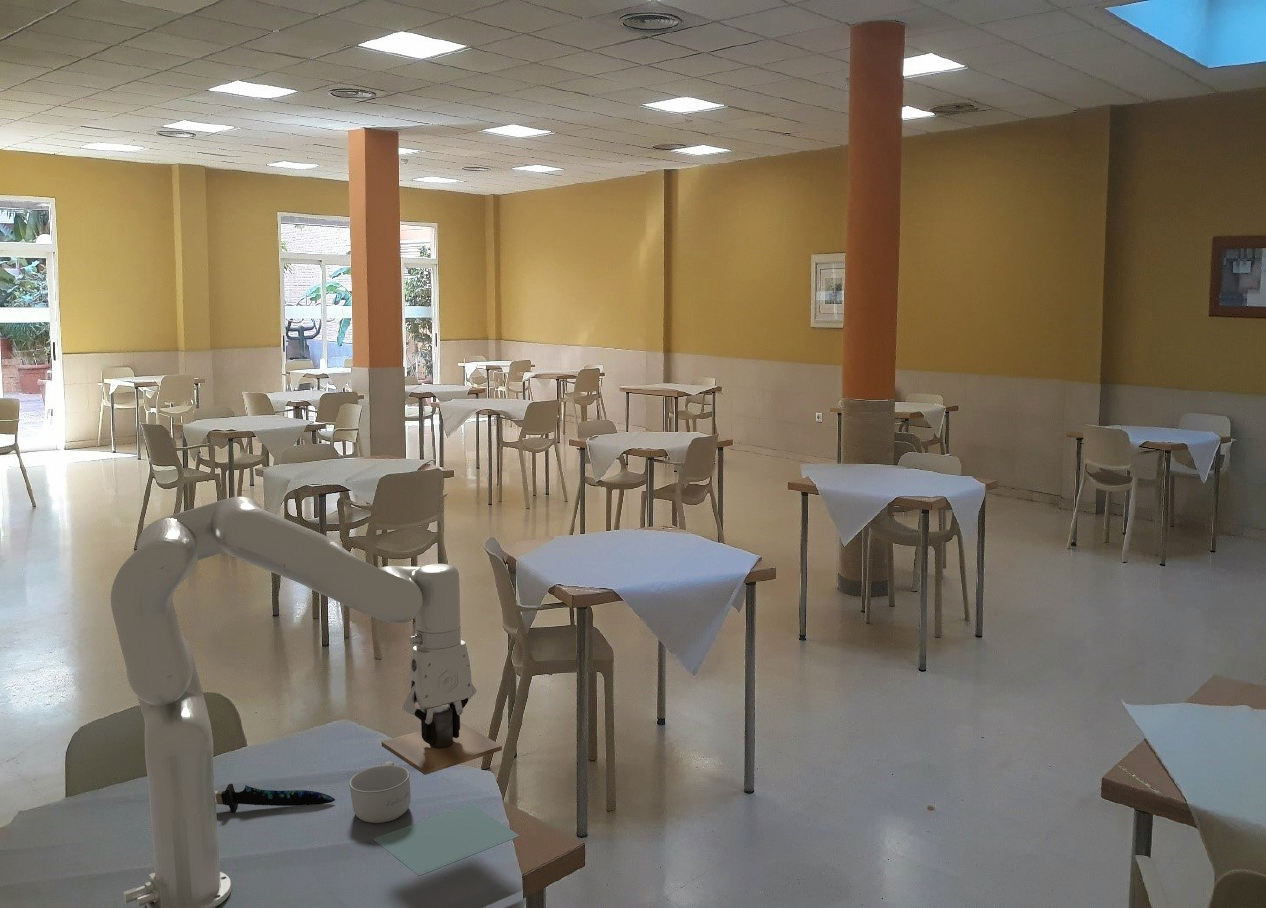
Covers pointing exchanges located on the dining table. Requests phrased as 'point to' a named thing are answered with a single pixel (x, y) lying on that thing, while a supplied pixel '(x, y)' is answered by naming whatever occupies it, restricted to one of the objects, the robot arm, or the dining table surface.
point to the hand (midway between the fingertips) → (441, 738)
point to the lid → (441, 745)
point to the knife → (269, 797)
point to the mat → (445, 839)
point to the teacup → (380, 793)
